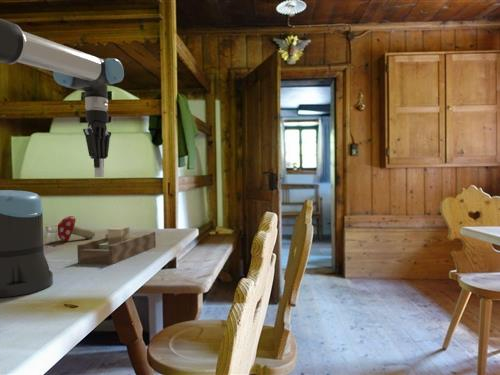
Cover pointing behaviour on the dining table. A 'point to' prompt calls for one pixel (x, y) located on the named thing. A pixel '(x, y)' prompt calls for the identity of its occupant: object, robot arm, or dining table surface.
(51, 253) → the dining table surface
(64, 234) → the decorative mushroom
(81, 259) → the box
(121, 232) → the maple block
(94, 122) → the robot arm
